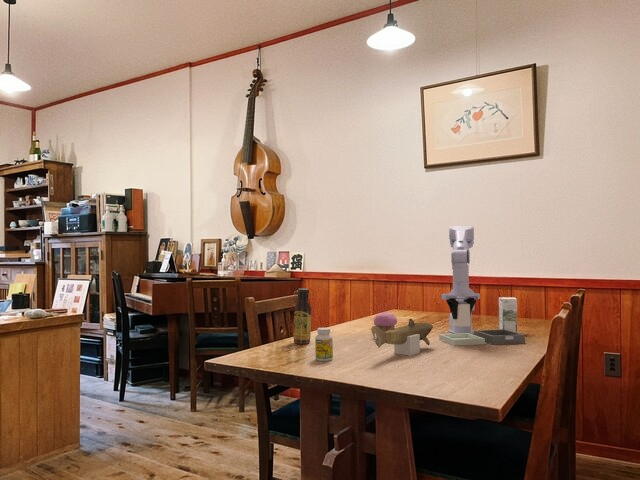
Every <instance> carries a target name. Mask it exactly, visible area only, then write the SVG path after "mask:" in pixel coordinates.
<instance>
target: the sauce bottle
mask: <svg viewBox="0 0 640 480" xmlns="http://www.w3.org/2000/svg"><path fill="white" fill-rule="evenodd" d="M297 293H298V294H297V298H298V299H297V303H296V305H295V307H294V315H293V334H292V335H293V343H294V344H297V345H307V344H310V342H311V333H312V332H311V331H312V330H311V329H312V328H311V327H312V307H311V305H310V303H309V294H310V289H309V288H297Z"/></svg>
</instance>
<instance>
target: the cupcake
mask: <svg viewBox="0 0 640 480" xmlns="http://www.w3.org/2000/svg"><path fill="white" fill-rule="evenodd" d="M397 323H398V318H397V317H396V316H395V314H393V313H392V312H388V311H384V312H379V313H377V314H376V315H375V317H374V319H373V326H377V327H379V328H380V329H381V330H382V331H383V332H386V331H388V330H390V329H391V327H390V326H393V327H394V328H395V326H396V325H397Z"/></svg>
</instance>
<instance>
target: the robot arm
mask: <svg viewBox="0 0 640 480" xmlns="http://www.w3.org/2000/svg"><path fill="white" fill-rule="evenodd" d="M448 228H449V229H448V231H449V232H448V233H449V234H448V237H449V238H448V239H449V245H450V247H451V248H452V251H451V253H450V261H451V268H452V269H451V270H452V289H451V290H450V292H449V293H441V300H442V301H443V300H444V301H445V302H446V304H447V305H448V308H449V310H450V314H449V318H448V319H449V329H447V332H449V333H451V334H459V333H469V334H472V335H474V331H473V330H472V329H473V328H472V327H473V326H472V324H473V323H472V321H473V320H472V319H473V318H472V312H473V311H474V310H475V309H476V307H475V305H476V303H477V300H480V299H481V293H478V292H474V290H472V289H471V288H470V277H469V276H470V275H469V274H470V272H469V271H470V270H469V269H470V267H469V265H470V263H471V259H470V258H471V257H470V255H471V254H470V249H471V248H473V246H474V242H475V241H474V240H475V237H474V236H475V228H474V225H455V226H454V225H450V226H449V227H448ZM458 302H467V304H470V326H463V327H458V326H455V325H453V319H457V307H458Z"/></svg>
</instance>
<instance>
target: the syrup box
mask: <svg viewBox="0 0 640 480" xmlns="http://www.w3.org/2000/svg"><path fill="white" fill-rule="evenodd" d="M498 329H505V330H509V331H513V332H516V333H518V299H517V298H516V297H514V296H512V297H510V296H505V297H504V296H501V297H500V296H499V297H498Z"/></svg>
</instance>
